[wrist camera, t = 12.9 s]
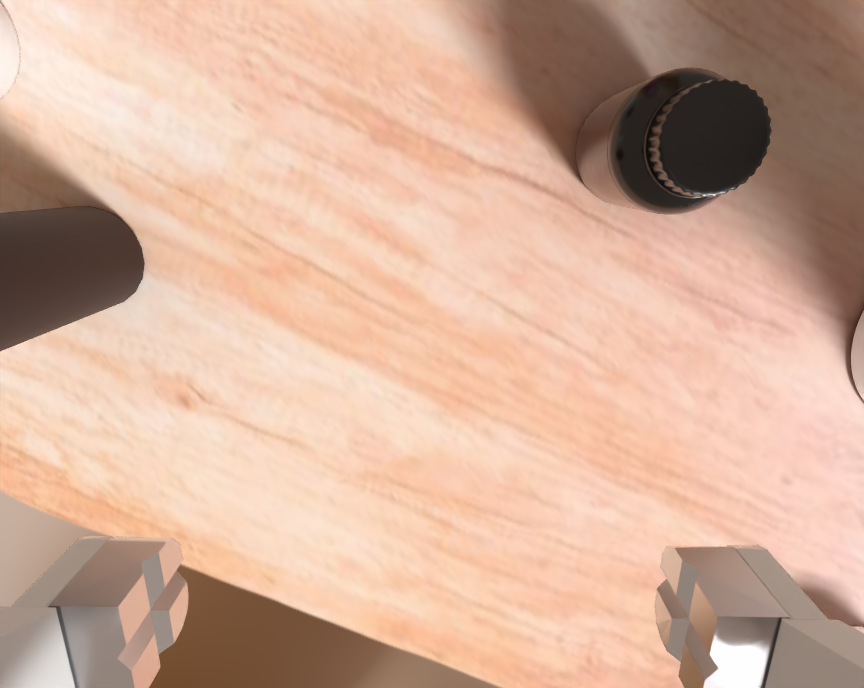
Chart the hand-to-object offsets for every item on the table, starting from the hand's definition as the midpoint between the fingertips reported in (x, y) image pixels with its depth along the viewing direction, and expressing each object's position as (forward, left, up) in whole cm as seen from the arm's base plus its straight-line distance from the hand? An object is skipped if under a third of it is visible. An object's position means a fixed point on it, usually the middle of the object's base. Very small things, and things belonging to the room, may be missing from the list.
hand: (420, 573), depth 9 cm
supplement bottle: (-12, -8, -29) cm, 33 cm away
